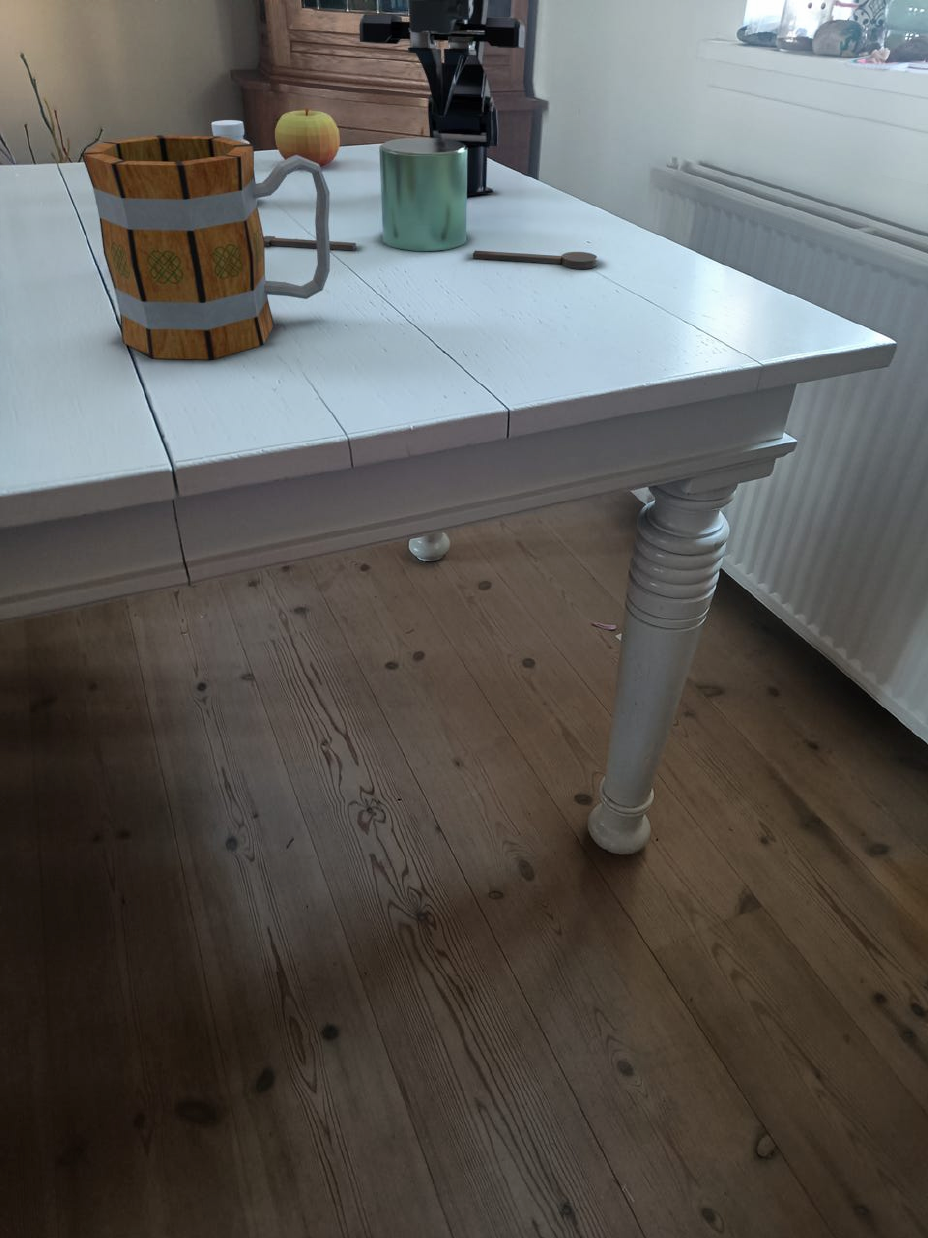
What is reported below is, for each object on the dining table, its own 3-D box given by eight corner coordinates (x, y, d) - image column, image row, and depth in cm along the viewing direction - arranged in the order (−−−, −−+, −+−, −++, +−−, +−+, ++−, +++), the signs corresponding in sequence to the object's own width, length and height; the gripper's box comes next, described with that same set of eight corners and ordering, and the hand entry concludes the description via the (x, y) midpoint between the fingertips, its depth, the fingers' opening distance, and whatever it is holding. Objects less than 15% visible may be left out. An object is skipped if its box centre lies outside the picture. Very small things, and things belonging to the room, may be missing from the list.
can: (436, 224, 113) (435, 134, 107) (482, 243, 107) (484, 147, 100) (367, 235, 108) (363, 141, 102) (411, 255, 102) (409, 156, 96)
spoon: (470, 261, 100) (470, 254, 100) (476, 252, 103) (476, 244, 103) (595, 270, 98) (596, 262, 98) (597, 259, 102) (598, 252, 101)
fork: (357, 246, 105) (357, 241, 104) (351, 252, 103) (351, 246, 102) (237, 238, 107) (236, 233, 106) (229, 244, 105) (228, 238, 104)
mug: (129, 369, 74) (86, 170, 65) (116, 317, 84) (76, 138, 75) (357, 341, 80) (347, 155, 71) (320, 296, 90) (306, 128, 81)
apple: (312, 174, 136) (307, 114, 131) (265, 166, 140) (258, 108, 135) (353, 164, 143) (350, 106, 138) (306, 156, 147) (302, 100, 142)
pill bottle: (263, 199, 122) (253, 119, 116) (251, 209, 118) (241, 125, 112) (224, 198, 123) (213, 118, 117) (211, 207, 118) (199, 124, 113)
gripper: (343, -53, 95) (348, 115, 103) (517, -49, 93) (508, 123, 101) (370, -42, 104) (373, 112, 113) (529, -38, 102) (520, 118, 110)
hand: (441, 116), depth 109 cm, fingers closed
